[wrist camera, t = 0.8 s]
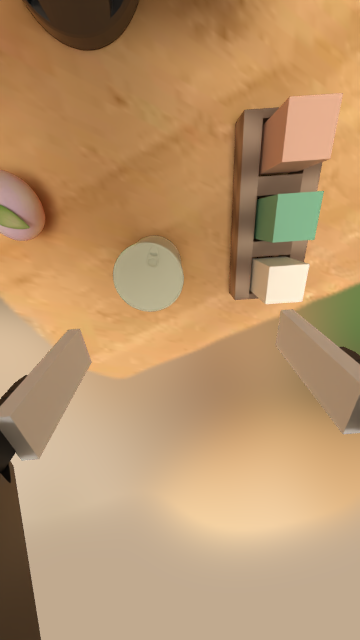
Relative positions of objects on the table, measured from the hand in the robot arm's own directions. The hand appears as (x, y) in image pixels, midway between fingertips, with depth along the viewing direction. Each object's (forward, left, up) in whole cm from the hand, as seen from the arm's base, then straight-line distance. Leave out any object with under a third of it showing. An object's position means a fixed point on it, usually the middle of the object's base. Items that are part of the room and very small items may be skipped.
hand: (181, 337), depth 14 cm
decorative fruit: (-10, -23, -26) cm, 36 cm away
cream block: (+2, +15, -23) cm, 28 cm away
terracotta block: (-15, +15, -23) cm, 32 cm away
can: (0, -4, -27) cm, 27 cm away
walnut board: (-6, +15, -26) cm, 31 cm away
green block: (-6, +15, -23) cm, 29 cm away
